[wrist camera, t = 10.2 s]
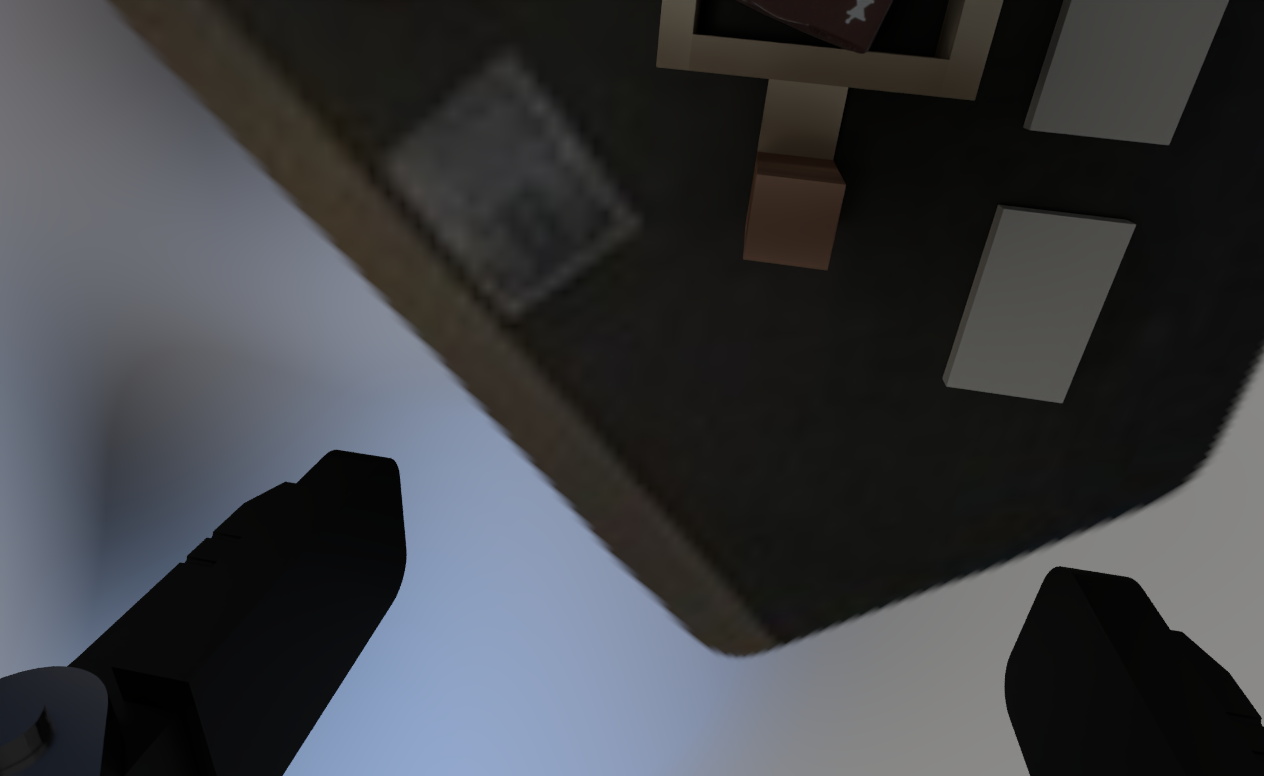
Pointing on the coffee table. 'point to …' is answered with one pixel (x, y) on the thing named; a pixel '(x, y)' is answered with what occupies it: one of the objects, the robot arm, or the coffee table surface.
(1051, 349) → the pair of grey tiles
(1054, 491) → the coffee table surface
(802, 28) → the box
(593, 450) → the coffee table surface
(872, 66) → the wooden open tray
